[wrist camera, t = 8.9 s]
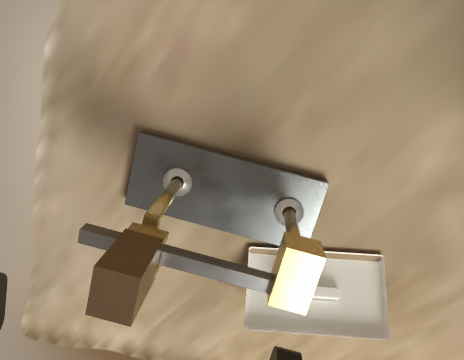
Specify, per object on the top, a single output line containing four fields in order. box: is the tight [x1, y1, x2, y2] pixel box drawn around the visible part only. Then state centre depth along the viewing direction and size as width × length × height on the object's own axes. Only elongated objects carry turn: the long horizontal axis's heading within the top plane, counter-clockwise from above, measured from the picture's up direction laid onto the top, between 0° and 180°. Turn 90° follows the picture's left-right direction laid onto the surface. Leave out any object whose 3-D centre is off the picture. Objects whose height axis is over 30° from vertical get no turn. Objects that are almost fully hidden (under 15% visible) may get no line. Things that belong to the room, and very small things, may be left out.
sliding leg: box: [85, 179, 182, 327], centre depth 33 cm, size 3×5×17 cm, turn 165°
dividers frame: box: [78, 208, 326, 315], centre depth 35 cm, size 18×5×12 cm, turn 75°
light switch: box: [245, 247, 390, 340], centre depth 43 cm, size 8×5×14 cm
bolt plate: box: [125, 131, 329, 246], centre depth 42 cm, size 20×8×2 cm, turn 75°
